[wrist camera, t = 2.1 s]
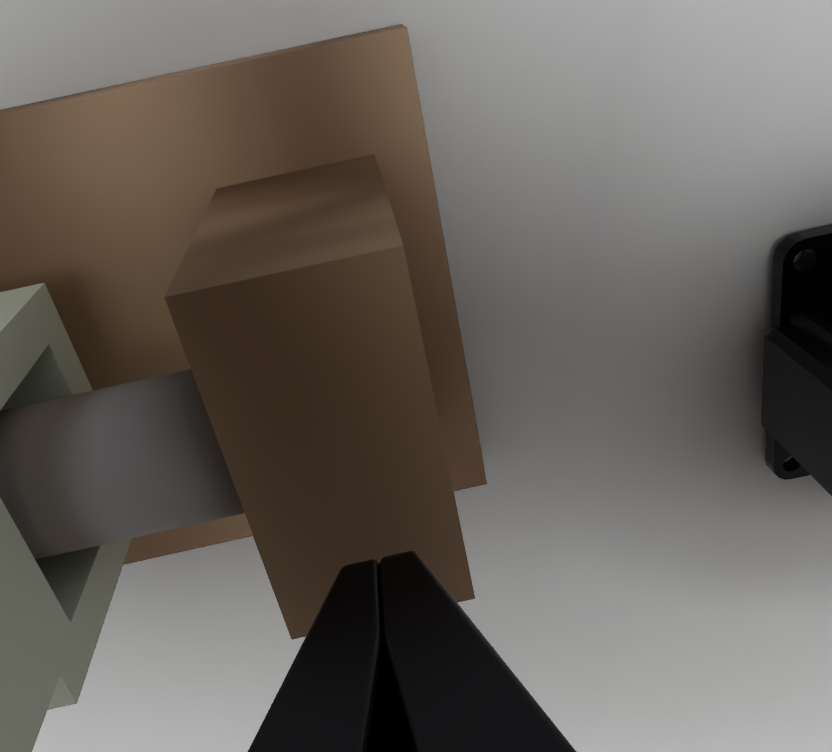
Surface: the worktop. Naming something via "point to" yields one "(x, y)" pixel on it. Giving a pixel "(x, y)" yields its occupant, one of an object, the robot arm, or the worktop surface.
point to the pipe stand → (243, 319)
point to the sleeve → (55, 575)
